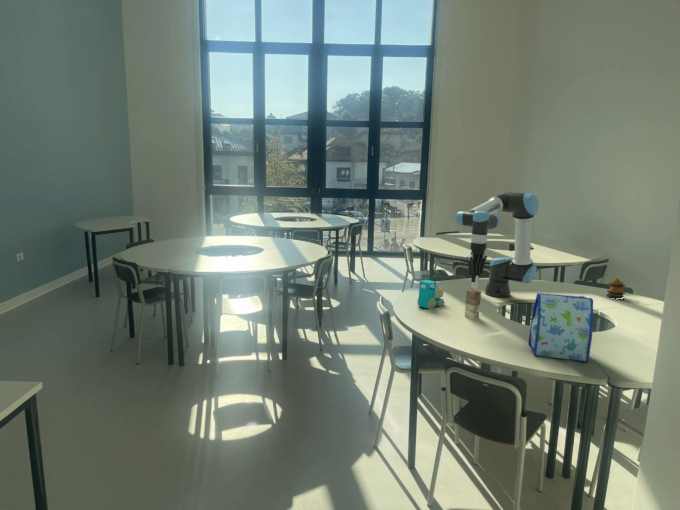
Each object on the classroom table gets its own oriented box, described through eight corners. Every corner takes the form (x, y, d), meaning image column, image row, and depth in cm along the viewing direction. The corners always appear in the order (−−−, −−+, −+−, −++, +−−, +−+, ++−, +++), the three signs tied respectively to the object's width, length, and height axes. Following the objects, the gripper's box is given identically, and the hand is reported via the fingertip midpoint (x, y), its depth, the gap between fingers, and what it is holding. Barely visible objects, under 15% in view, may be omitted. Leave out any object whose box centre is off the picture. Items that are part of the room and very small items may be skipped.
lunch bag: (579, 349, 207) (587, 292, 202) (590, 364, 191) (599, 303, 186) (526, 343, 212) (532, 287, 207) (533, 358, 196) (540, 297, 191)
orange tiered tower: (624, 301, 287) (627, 282, 285) (605, 298, 292) (608, 280, 290) (623, 296, 299) (626, 278, 296) (605, 293, 303) (608, 276, 301)
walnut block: (472, 301, 244) (473, 288, 243) (479, 304, 240) (481, 291, 239) (465, 303, 242) (466, 290, 240) (473, 305, 238) (474, 292, 236)
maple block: (471, 314, 246) (472, 302, 244) (478, 317, 242) (480, 304, 240) (464, 316, 243) (465, 303, 242) (472, 319, 239) (473, 305, 238)
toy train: (446, 305, 266) (448, 279, 263) (428, 310, 255) (430, 283, 252) (434, 301, 272) (436, 276, 269) (416, 307, 261) (418, 280, 258)
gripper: (481, 240, 241) (477, 284, 246) (463, 241, 234) (459, 287, 239) (493, 242, 235) (488, 288, 240) (475, 244, 228) (471, 291, 233)
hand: (474, 287), depth 239 cm, fingers closed
